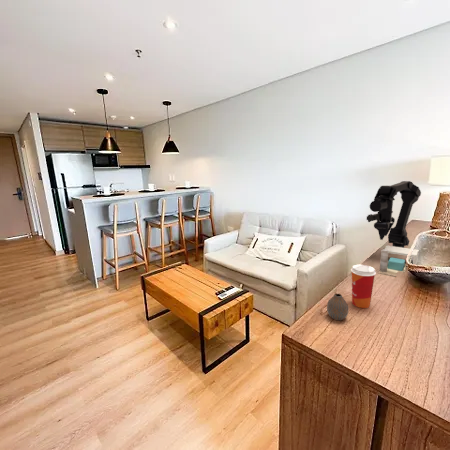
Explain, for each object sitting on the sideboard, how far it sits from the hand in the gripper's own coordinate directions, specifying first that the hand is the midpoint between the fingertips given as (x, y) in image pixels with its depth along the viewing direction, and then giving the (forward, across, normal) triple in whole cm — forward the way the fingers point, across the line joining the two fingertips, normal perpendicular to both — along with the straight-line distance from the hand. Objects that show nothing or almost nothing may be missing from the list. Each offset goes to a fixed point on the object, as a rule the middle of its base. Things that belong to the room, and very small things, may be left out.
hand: (383, 237), depth 132 cm
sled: (+13, +14, +8) cm, 21 cm away
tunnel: (+13, +2, +8) cm, 16 cm away
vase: (+13, +69, 0) cm, 70 cm away
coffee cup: (+13, +55, +4) cm, 57 cm away
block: (+12, +12, +8) cm, 19 cm away
